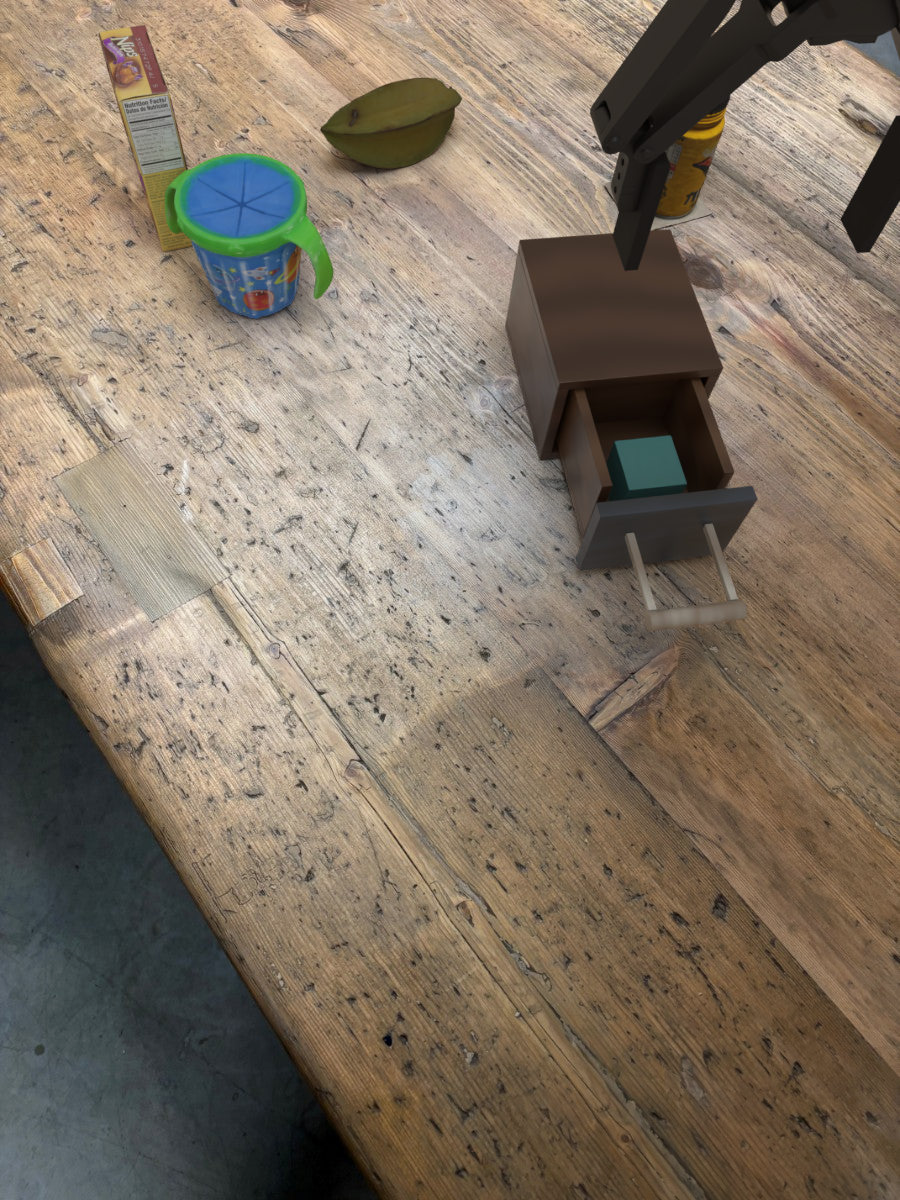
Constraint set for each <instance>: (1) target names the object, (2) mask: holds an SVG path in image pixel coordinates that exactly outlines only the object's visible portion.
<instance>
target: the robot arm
mask: <svg viewBox="0 0 900 1200" xmlns="http://www.w3.org/2000/svg"><path fill="white" fill-rule="evenodd" d="M736 2H737V0H666V1H665V3H664V4H663V6H662V7H661V8H660V10H659V12H657V14H656V16H655V17H654V18H653V20H652V21H651V22H650V24H649V25H648V27H647V28H646V29H645V31H644V32H643V34H642V35H641V36H640V38H639V39H638V41H637V42H636V43H635V45H634V46H633V47H632V49H631V50H630V51H629V53H628V55H627V56H626V57H625V59H624V60H623V61H622V62H621V64H620V65H619V67H618V69H616V71H615V72H614V74H613V76H612V77H611V78H610V80H609V81H608V82H607V83H606V85H605V86H604V88H603V89H602V91H601V92H600V94H598V96H597V97H596V99H595V101H594V102H593V103H592V105H591V106H590V109H589V115H590V118H591V121H592V124H593V127H594V131H595V133H596V135H597V138H598V141H599V144H600V147H601V149H602V151H603V153H605V154H607V155H610V156H612V155H616V154H618V155H617V160H616V163H615V168H614V171H613V176H612V179H611V181H612V182H611V181H610V182H611V190H612V194H613V197H614V199H613V200H614V203H615V206H616V209H617V212H618V213H617V219H616V220H615V225H614V228H613V232H612V233H613V235H612V236H613V238H614V241H615V244H616V247H617V250H618V253H619V256H620V259H621V262H622V265H623V268H624V271H631V270H638V268H639V265H640V262H641V259H642V255H643V252H644V249H645V246H646V243H647V240H648V237H649V233H650V230H651V227H652V224H653V221H654V218H655V215H656V211H657V208H658V205H659V202H660V199H661V196H662V193H663V189H664V186H665V183H666V180H667V177H668V174H669V171H670V167H671V165H670V162H669V160H668V157H667V155H666V152H665V151H666V150H667V149H668V148H669V147H670V146H671V145H673V144H674V143H675V142H676V141H677V140H678V139H680V138H681V137H682V136H683V135H684V134H685V133H687V132H688V131H689V130H690V129H691V128H692V127H693V126H695V125H696V124H697V123H698V122H699V121H700V120H702V119H703V118H704V117H705V116H706V115H707V114H709V113H710V112H711V111H712V110H713V109H714V108H716V107H717V106H718V105H719V104H720V103H721V102H722V101H724V100H725V99H726V98H727V97H728V96H729V95H730V96H731V95H732V94H733V93H735V91H736V90H738V89H739V88H740V87H741V86H743V84H745V83H746V82H747V81H748V80H749V79H751V78H752V77H753V76H754V75H755V74H756V73H757V72H758V71H760V70H761V69H762V68H764V66H765V65H767V64H768V63H770V62H771V63H772V62H773V63H778V62H782V61H783V60H784V59H786V58H787V57H788V56H789V55H791V54H792V53H793V52H794V51H795V50H796V49H797V48H799V47H800V46H801V45H802V44H803V43H804V42H806V43H807V44H808V46H809V47H816V46H817V47H818V46H828V45H831V44H834V43H838V42H842V41H848V42H851V43H854V44H858V45H863V44H876V42H877V40H878V38H879V37H881V36H883V35H885V34H888V33H889V32H890V34H891V37H892V41H893V44H894V48H895V50H896V53H897V57H898V60H899V61H900V0H741V1H740V4H739V9H738V10H737V11H736V13H735V14H733V16H731V17H730V19H728V20H727V21H726V22H725V23H724V24H723V25H722V26H721V24H722V22H723V21H724V20H725V19H726V17H727V16H728V15H729V13H730V11H731V9H732V8H733V7H734V4H735V3H736ZM780 3H781V4H782V8H783V11H784V14H785V16H786V18H784V19H783V20H782V21H781V22H779V23H778V24H776V22H775V21H774V18H773V17H772V13H773V11H774V9H776V7H777V6H778V5H779V4H780ZM613 197H612V198H613ZM899 203H900V115H895V117H894V119H893V120H892V122H891V124H890V126H889V128H888V129H887V131H886V133H885V135H884V137H883V139H882V140H881V142H880V144H879V147H878V148H877V150H876V152H875V154H874V155H873V158H872V159H871V161H870V162H869V165H868V167H867V168H866V171H865V173H864V174H863V176H862V178H861V180H860V182H859V183H858V185H857V187H856V189H855V190H854V193H853V195H852V196H851V198H850V201H849V202H848V204H847V206H846V208H845V210H844V211H843V213H842V215H841V217H840V222H841V224H842V226H843V228H844V230H845V232H846V234H847V236H848V238H849V240H850V242H851V244H852V246H853V248H854V250H855V252H856V254H863V253H864V254H867V253H870V252H871V250H872V249H873V247H874V245H875V244H876V243H877V241H878V239H879V237H880V235H881V234H882V232H883V230H884V229H885V227H886V225H887V224H888V222H889V221H890V218H891V217H892V215H893V213H894V212H895V210H896V208H897V207H898V205H899ZM651 231H652V230H651Z"/></svg>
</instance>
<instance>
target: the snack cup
mask: <svg viewBox="0 0 900 1200" xmlns="http://www.w3.org/2000/svg"><path fill="white" fill-rule="evenodd" d="M307 213H308V197H307V191H306V187H305V183H304V180H303V179H302V178H301V177H300V176H299V175H298V173H296V172H295V171H294V169H293V168H292V167H290V166H288V165H287V164H286V163H284V162H282V161H280V160H278V159H275V158H273V157H269V156H267V155H264V154H263V155H262V154H257V153H248V152H247V153H246V152H243V153H242V152H237V153H227V154H222V155H219V156H215V157H212V158H210V159H206V160H204V161H203V162H200V163H198V164H197V165H196V166H194V167H192V168H189V169H188V170H185V171H184V172H183V173H182V174H180V175H179V176H178V177H177V178H175V179H174V180H173V181H172V182H171V184H170V185H169V186H168V187H167V189H166V192H165V214H166V220H167V225H168V227H169V229H170V230H171V231H172V232H173V233H175V234H178V233H180V232H183V233H184V234H185V235H186V236H187V237H189V238H190V239H191V242H192V246H191V247H192V248H193V250H194V252H195V254H196V258H197V260H198V261H199V263H200V266H201V268H202V270H203V272H204V275H205V277H206V280H207V283H208V284H209V286H210V288H211V290H212V292H213V296H214V297H215V299H216V301H217V303H219V304H218V305H220V306H222V307H223V308H225V309H226V310H228V312H231V313H233V314H236V315H238V316H239V315H240V316H245V317H247V318H249V319H255V320H257V319H260V318H261V317H267V316H270V315H273V314H275V313H278V312H280V311H282V310H284V309H285V308H286V307H288V306H289V307H290V306H291V305H292V303H293V301H294V300H295V297H296V294H297V292H298V289H299V283H300V274H301V273H300V272H301V259H302V251H303V252H305V253H306V254H307V256H308V259H309V262H310V263H311V266H312V269H313V271H314V275H315V282H314V288H313V298H314V299H315V300H318V299H320V298H321V297H323V295H324V294H325V292H326V291H328V289H329V287H330V286H331V284H332V281H333V278H334V272H335V271H334V267H333V263H332V260H331V258H330V254H329V252H328V249H327V247H326V244H325V243H324V240H323V237H322V236H321V234H320V232H319V231H318V229H317V228H316V226H315V224H314V223H313V221H311V219H310V218H309V216H308V214H307Z"/></svg>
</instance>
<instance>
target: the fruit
mask: <svg viewBox="0 0 900 1200" xmlns="http://www.w3.org/2000/svg"><path fill="white" fill-rule="evenodd" d="M462 100H463V97H462V96H461V94H460V93H459V92H458V91H457V90H456V89H455V88H453V86H452V85H451V86H449V87H447V86H446V84H445V83H444V81H442V80H440V79H438V78H435V77H434V78H433V77H412V78H411V77H410V78H405V79H401V80H396V81H391V82H388V83H386V84H382V85H380V86H378V87H376V88H374V89H372V90H370V91H368V92H366V93H364V94H362V95H360V96H357V97H355V98H354V99H352V100H351V101H349V102H348V103H346V104H344V105H343V106H342V107H340V108H339V109H338V110H336V111H335V112H334V113H333V114H332V115H331V116H330V117H329V119H328V120H327V121H326V123H325V124H323V125H322V126H321V127H320V129H319V131H320V133H321V134H322V135H323V137H324V138H325V139H326V142H328V143H329V144H330V145H331V146H332V147H333V148H334V149H335V150H337V151H338V152H340V153H341V154H342V155H344V156H346V157H348V158H349V159H352V160H353V161H355V162H356V163H360V164H363V165H365V166H368V167H372V168H377V169H387V170H388V169H399V168H400V169H401V168H405V167H409V166H412V165H415V164H417V163H419V162H421V161H423V160H425V159H426V158H428V157H430V156H431V155H432V154H433V153H434V152H435V151H436V150H437V149H438V148H439V147H440V146H441V144H442V143H443V142H444V141H445V139H446V137H447V135H448V134H449V131H450V129H451V127H452V125H453V122H454V119H455V115H456V108H457V107H458V106H459V105H461V103H462Z"/></svg>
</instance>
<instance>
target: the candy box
mask: <svg viewBox="0 0 900 1200" xmlns="http://www.w3.org/2000/svg"><path fill="white" fill-rule="evenodd" d="M97 34H98V40H99V44H100V47H101V51H102V54H103V59H104V63H105V65H106V69H107V73H108V77H109V80H110V83H111V86H112V91H113V94H114V97H115V101H116V104H117V108H118V111H119V115H120V118H121V121H122V125H123V128H124V132H125V136H126V138H127V142H128V145H129V149H130V151H131V156H132V159H133V162H134V165H135V169H136V171H137V175H138V178H139V182H140V185H141V189H142V191H143V195H144V197H145V201H146V203H147V205H148V206H147V207H148V211H149V213H150V217H151V219H152V223H153V226H154V228H155V232H156V235H157V237H158V241H159V245H160V248H161V251H162V252H171V251H174V250H175V251H176V250H180V249H185V248H190V247H193V246H192V242H191V239H190V238H189V237H187V236H186V235H185V234H184V233H183V232H180V233H178V234H175V233H173V232H172V231H171V230H170V229H169V227H168V225H167V220H166V214H165V192H166V189H167V187H168V186H169V185H170V184H171V182H172V181H173V180H174V179H175V178H177V177H178V176H179V175H180V174H182V173H183V172H184V171H185V170H189V169H188V165H187V161H186V156H185V151H184V147H183V143H182V139H181V135H180V131H179V126H178V122H177V118H176V114H175V113H176V112H175V109H174V105H173V101H172V97H171V96H172V95H171V92H170V89H169V87H168V85H167V82H166V79H165V77H164V74H163V72H162V68H161V66H160V63H159V60H158V58H157V55H156V52H155V50H154V46H153V44H152V40H151V38H150V35H149V32H148V27H147V26H146V25H145V24H143V25H134V26H128V27H126V26H125V27H122V28H121V27H120V28H115V29H109V30H103V31H100V32H98V33H97Z"/></svg>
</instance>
